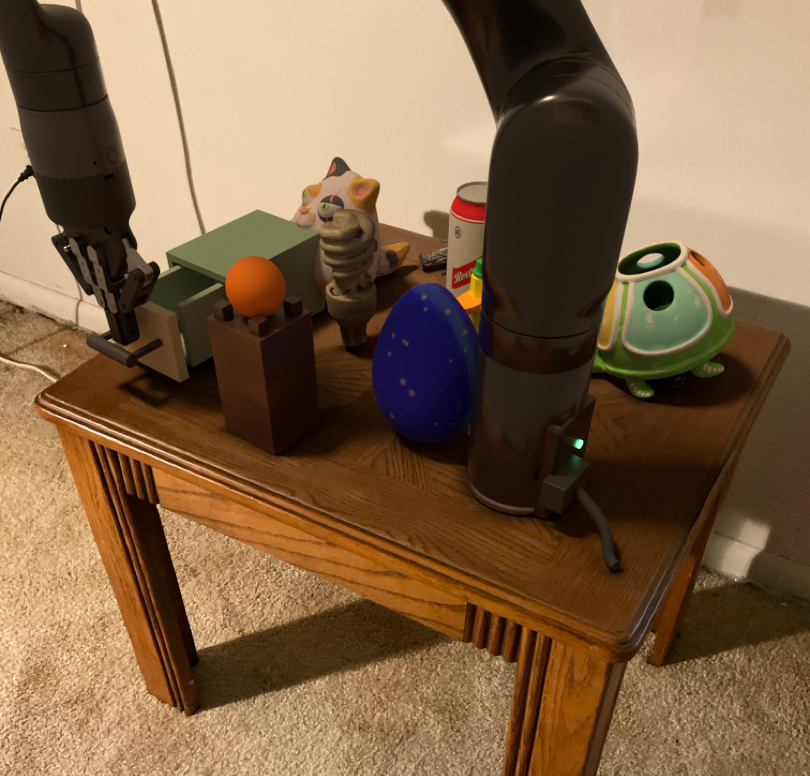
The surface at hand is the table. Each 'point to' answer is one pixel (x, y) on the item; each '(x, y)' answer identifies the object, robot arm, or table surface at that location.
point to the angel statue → (435, 257)
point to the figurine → (346, 193)
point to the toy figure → (473, 295)
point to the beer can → (465, 235)
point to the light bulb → (350, 273)
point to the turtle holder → (664, 317)
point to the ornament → (426, 365)
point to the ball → (255, 286)
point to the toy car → (670, 381)
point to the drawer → (170, 324)
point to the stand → (266, 373)
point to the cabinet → (257, 253)
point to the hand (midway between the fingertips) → (127, 340)
